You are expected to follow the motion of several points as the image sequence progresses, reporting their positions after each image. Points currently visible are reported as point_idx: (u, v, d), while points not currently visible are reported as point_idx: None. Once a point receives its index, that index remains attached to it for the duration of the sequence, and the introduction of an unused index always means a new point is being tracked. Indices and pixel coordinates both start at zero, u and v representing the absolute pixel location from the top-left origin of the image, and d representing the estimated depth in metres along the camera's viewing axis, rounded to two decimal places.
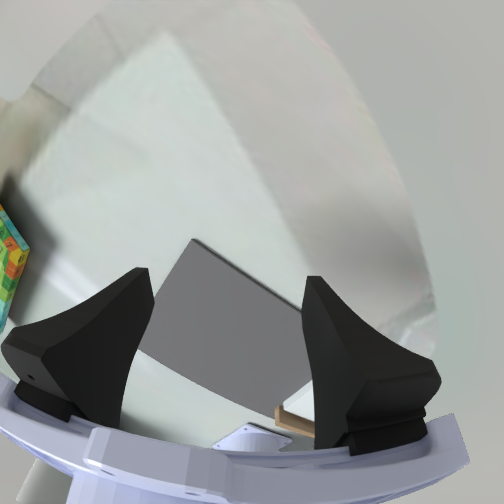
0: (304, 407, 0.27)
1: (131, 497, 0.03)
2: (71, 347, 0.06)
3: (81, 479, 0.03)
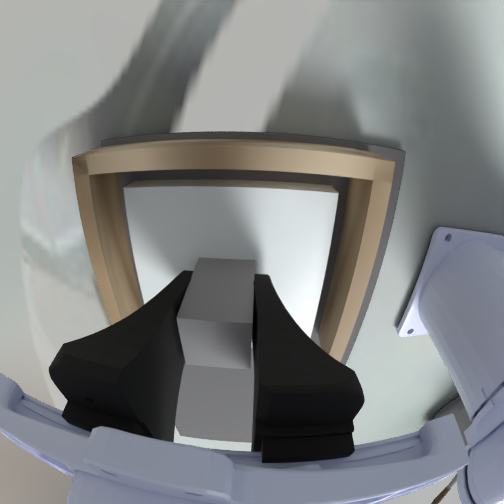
0: None
1: (131, 497, 0.03)
2: (141, 363, 0.06)
3: (81, 479, 0.03)
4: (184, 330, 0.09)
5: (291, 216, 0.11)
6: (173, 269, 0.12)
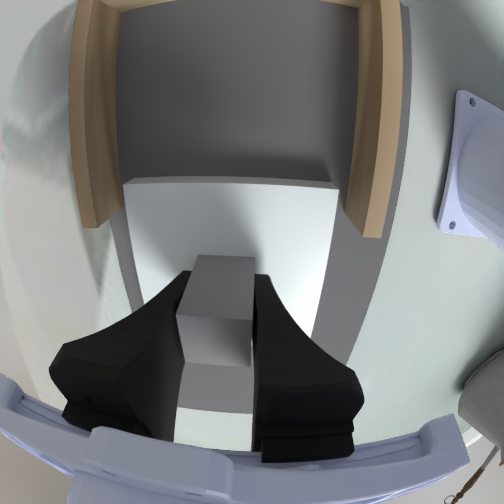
0: None
1: (131, 497, 0.03)
2: (142, 363, 0.06)
3: (81, 479, 0.03)
4: (183, 327, 0.09)
5: (291, 212, 0.11)
6: (172, 266, 0.12)
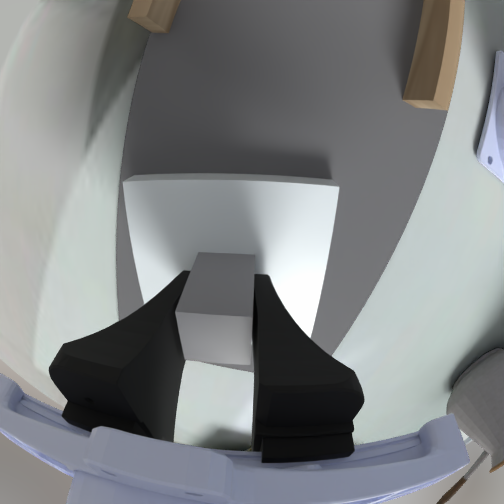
0: None
1: (131, 497, 0.03)
2: (141, 363, 0.06)
3: (81, 479, 0.03)
4: (182, 324, 0.09)
5: (291, 209, 0.11)
6: (172, 264, 0.12)
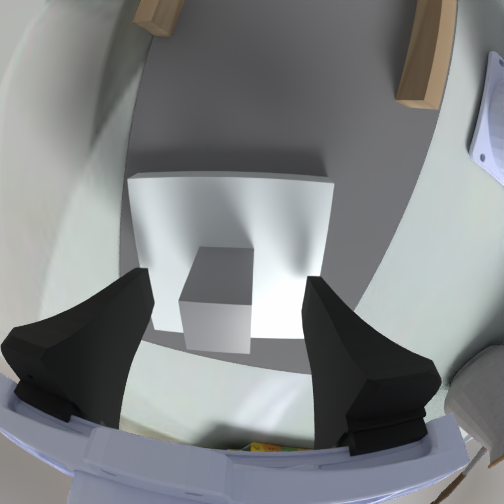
0: (281, 316, 0.14)
1: (131, 497, 0.03)
2: (71, 347, 0.06)
3: (81, 479, 0.03)
4: (185, 313, 0.09)
5: (288, 205, 0.11)
6: (174, 258, 0.13)
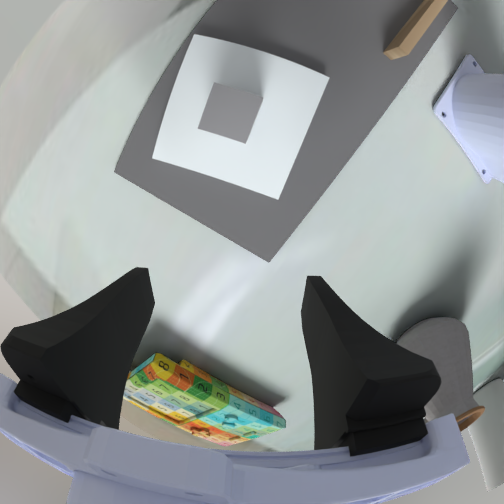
0: (264, 167, 0.17)
1: (131, 497, 0.03)
2: (71, 347, 0.06)
3: (81, 479, 0.03)
4: (214, 93, 0.11)
5: (295, 80, 0.14)
6: (201, 94, 0.15)
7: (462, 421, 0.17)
